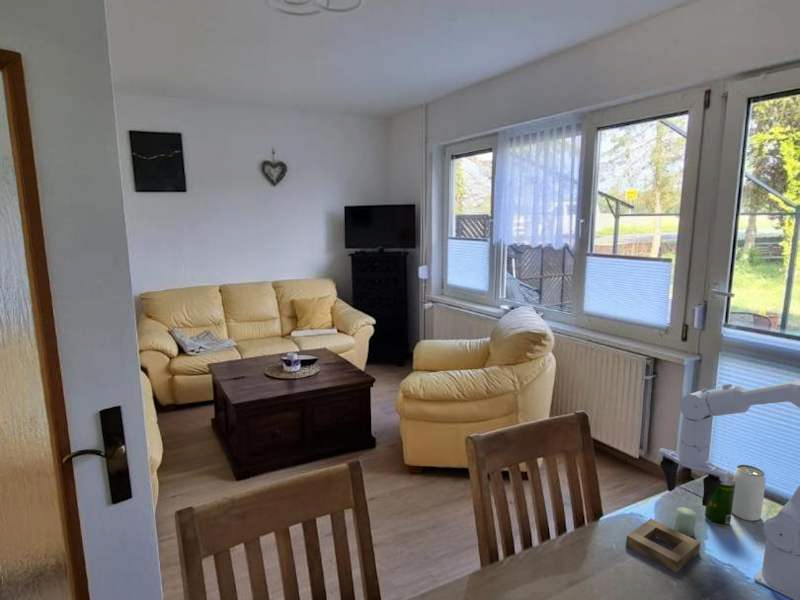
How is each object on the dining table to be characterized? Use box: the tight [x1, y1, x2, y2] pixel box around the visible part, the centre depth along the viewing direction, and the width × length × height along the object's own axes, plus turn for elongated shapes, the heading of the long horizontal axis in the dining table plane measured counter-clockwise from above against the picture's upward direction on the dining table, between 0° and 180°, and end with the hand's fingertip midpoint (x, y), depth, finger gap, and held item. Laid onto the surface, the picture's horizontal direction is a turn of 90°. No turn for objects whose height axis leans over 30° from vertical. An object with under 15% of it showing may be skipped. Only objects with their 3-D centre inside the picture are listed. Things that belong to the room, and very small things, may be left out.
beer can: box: [704, 473, 735, 528], centre depth 122 cm, size 5×5×12 cm
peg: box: [674, 506, 697, 537], centre depth 118 cm, size 4×4×5 cm
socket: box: [625, 518, 701, 573], centre depth 111 cm, size 11×11×2 cm
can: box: [732, 464, 766, 522], centre depth 125 cm, size 6×6×12 cm
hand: (688, 496), depth 117 cm, fingers open, 7 cm apart
